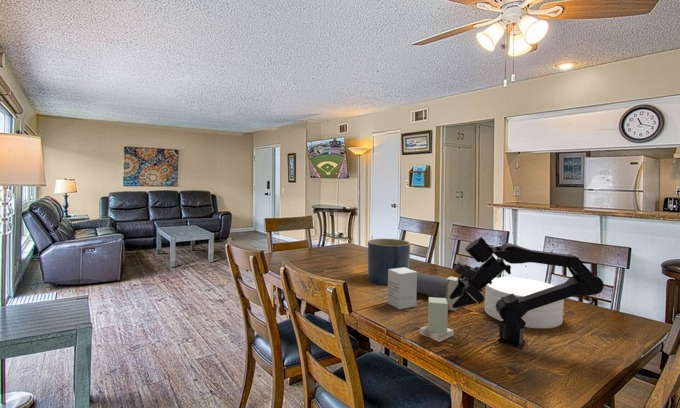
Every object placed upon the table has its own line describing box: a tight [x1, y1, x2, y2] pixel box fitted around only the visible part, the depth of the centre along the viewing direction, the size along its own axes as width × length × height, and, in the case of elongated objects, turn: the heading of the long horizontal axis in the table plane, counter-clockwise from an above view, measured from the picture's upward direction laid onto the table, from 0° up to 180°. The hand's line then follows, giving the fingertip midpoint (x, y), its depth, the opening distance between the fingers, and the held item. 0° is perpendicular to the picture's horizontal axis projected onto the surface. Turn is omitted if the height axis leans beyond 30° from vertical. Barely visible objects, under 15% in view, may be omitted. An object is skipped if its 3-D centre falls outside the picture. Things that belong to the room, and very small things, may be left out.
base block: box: [419, 324, 455, 343], centre depth 127 cm, size 8×8×2 cm
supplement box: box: [387, 267, 418, 310], centre depth 156 cm, size 9×9×15 cm
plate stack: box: [484, 276, 565, 329], centre depth 148 cm, size 28×28×12 cm
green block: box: [427, 297, 449, 333], centre depth 127 cm, size 6×6×10 cm
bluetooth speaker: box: [417, 272, 448, 298], centre depth 166 cm, size 23×9×10 cm, turn 50°
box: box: [445, 276, 460, 312], centre depth 153 cm, size 5×4×13 cm
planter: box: [367, 238, 411, 286], centre depth 195 cm, size 22×22×20 cm
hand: (451, 302), depth 126 cm, fingers open, 9 cm apart
